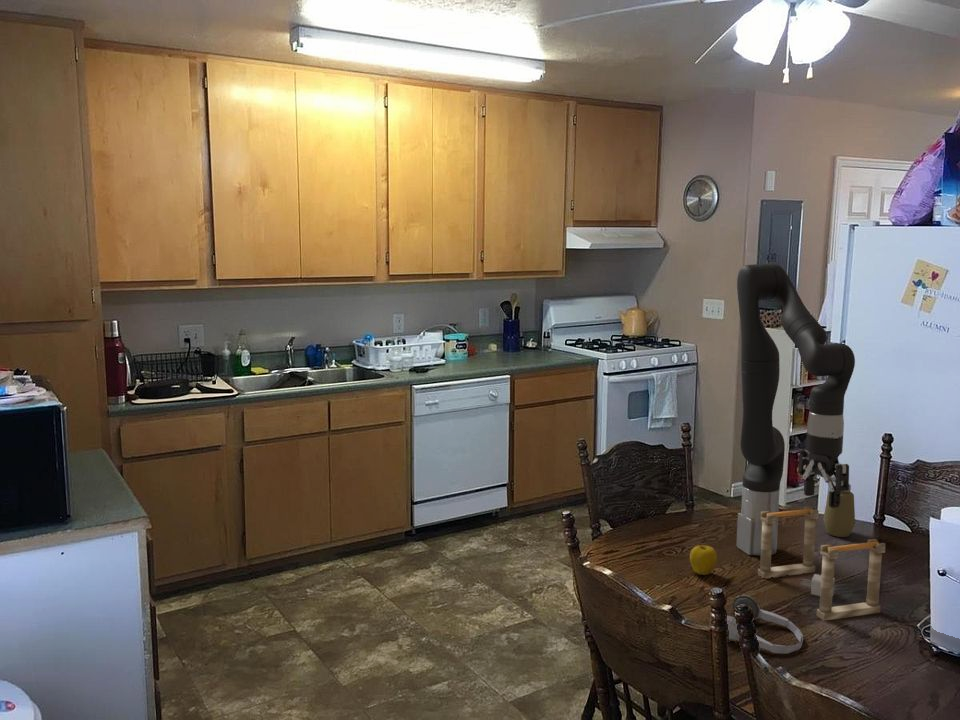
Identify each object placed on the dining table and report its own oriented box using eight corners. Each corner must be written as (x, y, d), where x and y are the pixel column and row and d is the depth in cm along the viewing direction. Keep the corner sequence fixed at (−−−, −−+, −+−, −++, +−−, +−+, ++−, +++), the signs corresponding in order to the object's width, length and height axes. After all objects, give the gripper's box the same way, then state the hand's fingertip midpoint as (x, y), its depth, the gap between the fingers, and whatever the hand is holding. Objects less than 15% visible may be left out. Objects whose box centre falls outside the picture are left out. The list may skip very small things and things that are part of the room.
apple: (684, 574, 193) (685, 543, 192) (697, 566, 198) (698, 536, 197) (708, 582, 189) (709, 550, 188) (720, 573, 193) (722, 543, 192)
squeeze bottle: (859, 539, 215) (864, 475, 212) (829, 539, 215) (833, 475, 212) (846, 528, 223) (850, 467, 220) (817, 528, 223) (821, 467, 220)
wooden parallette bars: (824, 621, 169) (829, 550, 167) (757, 574, 193) (759, 511, 191) (881, 613, 173) (886, 543, 170) (807, 567, 196) (811, 506, 194)
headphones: (691, 630, 164) (790, 673, 153) (697, 605, 162) (796, 647, 152) (718, 598, 178) (809, 636, 168) (723, 576, 177) (815, 612, 166)
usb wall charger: (831, 600, 179) (832, 583, 179) (798, 592, 183) (799, 576, 182) (833, 593, 182) (834, 577, 182) (802, 586, 186) (803, 570, 186)
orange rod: (830, 553, 168) (831, 548, 168) (827, 551, 169) (827, 546, 169) (880, 547, 171) (880, 542, 171) (876, 545, 172) (876, 540, 172)
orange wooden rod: (769, 519, 189) (769, 514, 189) (766, 517, 190) (766, 512, 190) (814, 514, 192) (814, 509, 192) (811, 512, 193) (811, 507, 193)
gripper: (790, 426, 183) (787, 493, 185) (832, 440, 169) (828, 512, 172) (818, 424, 185) (815, 490, 187) (861, 438, 171) (857, 509, 173)
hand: (821, 501), depth 179 cm, fingers open, 8 cm apart
